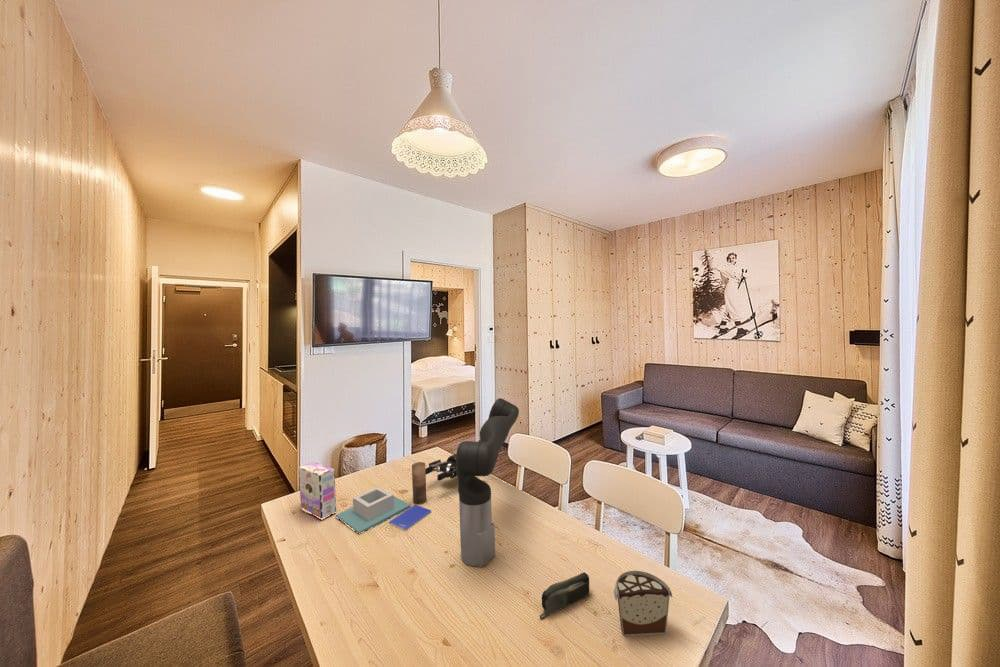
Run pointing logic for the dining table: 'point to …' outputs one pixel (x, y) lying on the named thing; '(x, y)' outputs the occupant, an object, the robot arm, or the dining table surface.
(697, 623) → the dining table surface
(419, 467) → the walnut peg
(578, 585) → the black pencil case
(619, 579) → the chocolate drizzled cake
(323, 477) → the candy box
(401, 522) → the hard drive
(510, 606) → the dining table surface
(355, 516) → the socket plate
